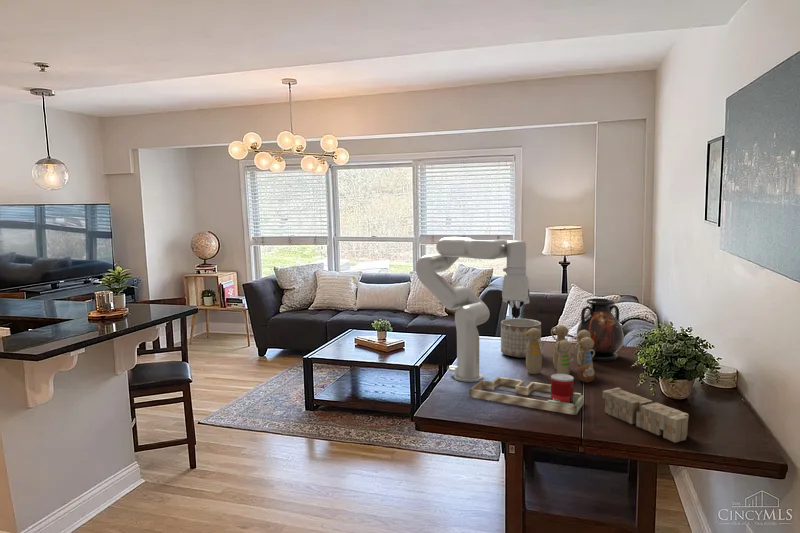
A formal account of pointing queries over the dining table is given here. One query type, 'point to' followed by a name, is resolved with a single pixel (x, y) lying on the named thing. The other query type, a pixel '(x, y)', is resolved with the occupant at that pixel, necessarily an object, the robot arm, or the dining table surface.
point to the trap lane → (519, 388)
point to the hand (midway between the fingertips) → (515, 317)
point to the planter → (517, 336)
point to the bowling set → (562, 353)
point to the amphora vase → (602, 328)
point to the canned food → (562, 388)
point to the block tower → (647, 414)
